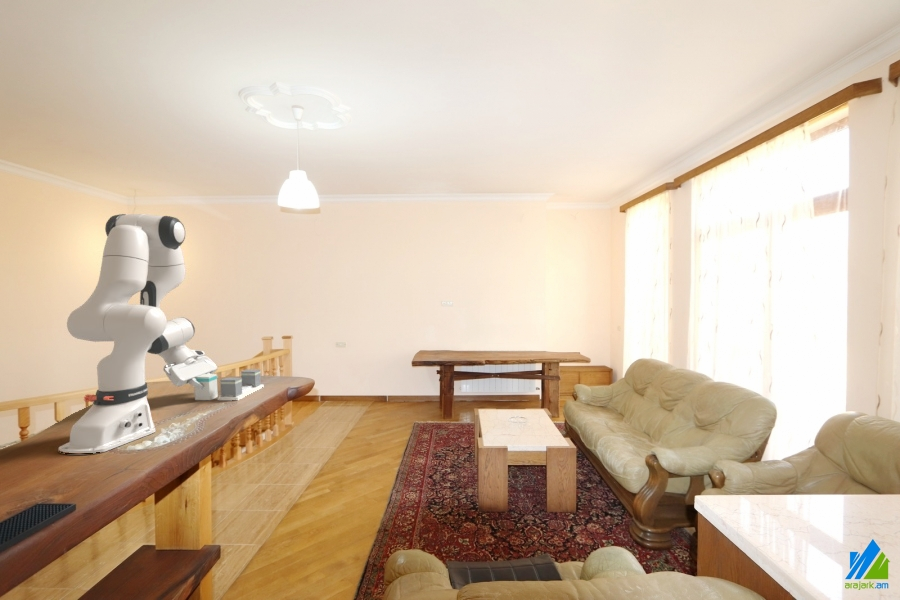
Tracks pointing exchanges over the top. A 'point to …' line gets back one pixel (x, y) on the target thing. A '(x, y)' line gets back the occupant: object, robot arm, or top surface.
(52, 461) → the top surface
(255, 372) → the rail mount
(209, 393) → the block
